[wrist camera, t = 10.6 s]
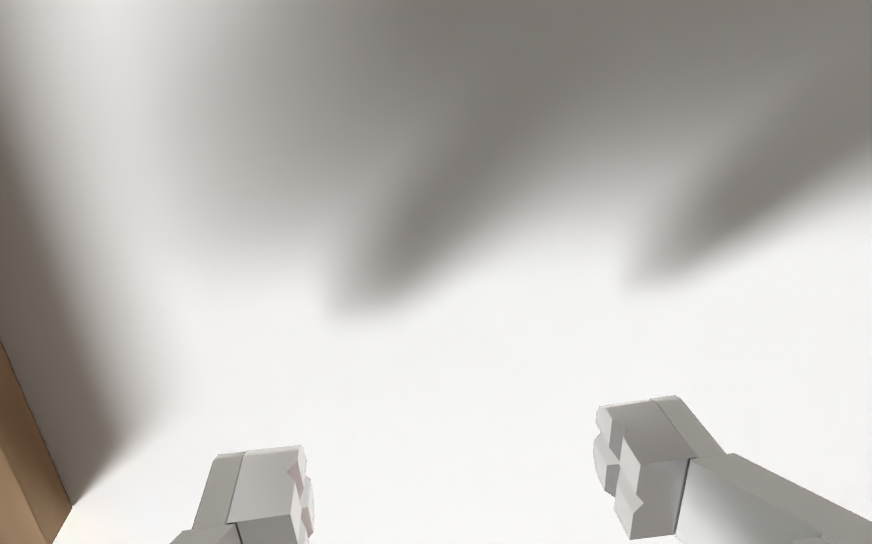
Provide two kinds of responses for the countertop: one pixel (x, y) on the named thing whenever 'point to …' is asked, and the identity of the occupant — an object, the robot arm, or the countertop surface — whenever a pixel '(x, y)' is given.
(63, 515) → the teak tray
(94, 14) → the countertop surface
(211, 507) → the robot arm
